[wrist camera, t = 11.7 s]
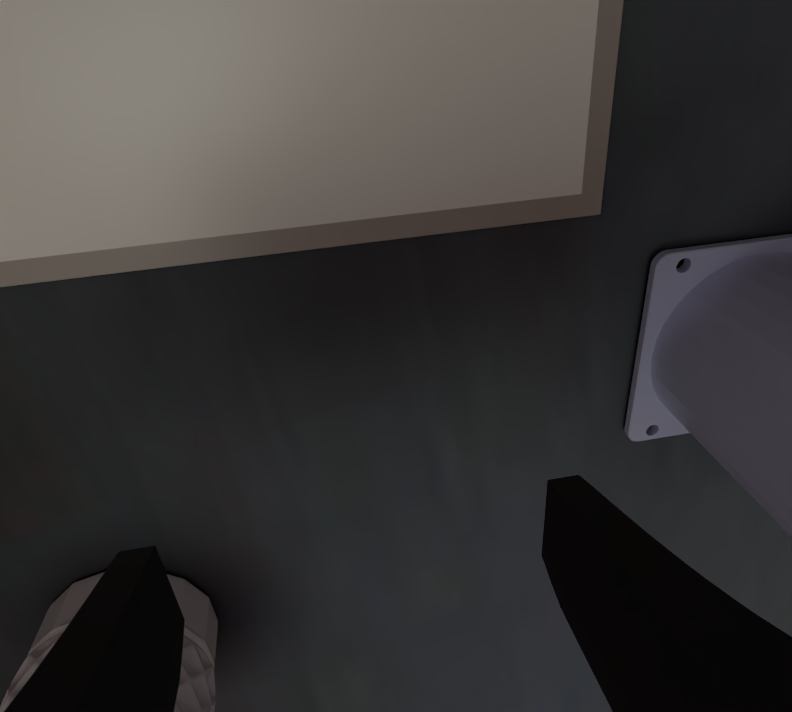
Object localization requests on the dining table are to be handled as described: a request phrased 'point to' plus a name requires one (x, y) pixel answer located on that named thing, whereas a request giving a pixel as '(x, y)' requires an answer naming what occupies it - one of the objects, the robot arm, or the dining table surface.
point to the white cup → (197, 652)
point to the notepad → (290, 125)
